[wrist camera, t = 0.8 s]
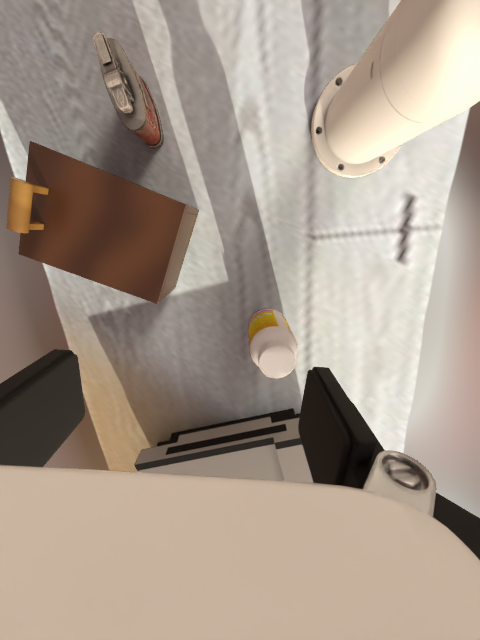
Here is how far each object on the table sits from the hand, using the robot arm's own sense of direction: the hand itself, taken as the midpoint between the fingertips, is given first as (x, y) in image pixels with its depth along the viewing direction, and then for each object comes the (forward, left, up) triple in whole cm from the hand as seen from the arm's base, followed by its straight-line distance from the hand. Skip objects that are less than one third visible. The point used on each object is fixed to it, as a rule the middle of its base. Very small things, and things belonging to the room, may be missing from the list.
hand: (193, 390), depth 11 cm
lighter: (-15, -18, -33) cm, 41 cm away
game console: (+36, +15, -33) cm, 51 cm away
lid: (0, -16, -24) cm, 29 cm away
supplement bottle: (+7, +9, -33) cm, 35 cm away
